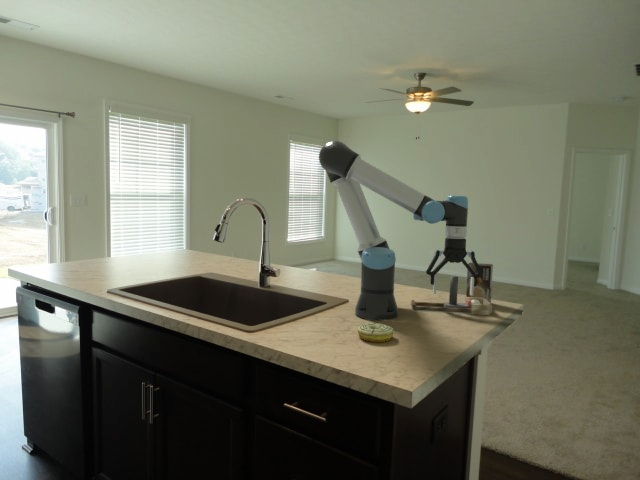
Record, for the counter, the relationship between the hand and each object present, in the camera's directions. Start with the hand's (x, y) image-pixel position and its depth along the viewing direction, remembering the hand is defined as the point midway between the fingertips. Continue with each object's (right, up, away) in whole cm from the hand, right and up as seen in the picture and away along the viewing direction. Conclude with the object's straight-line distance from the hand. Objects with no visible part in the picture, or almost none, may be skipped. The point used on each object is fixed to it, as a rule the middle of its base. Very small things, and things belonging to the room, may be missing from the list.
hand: (452, 294), depth 170 cm
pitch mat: (-1, -6, +1) cm, 6 cm away
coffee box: (+13, -5, +11) cm, 18 cm away
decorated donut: (-33, -9, -34) cm, 48 cm away
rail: (-4, -5, +1) cm, 7 cm away
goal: (+9, -6, -1) cm, 11 cm away
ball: (+8, -4, -1) cm, 9 cm away
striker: (+2, -5, 0) cm, 6 cm away
